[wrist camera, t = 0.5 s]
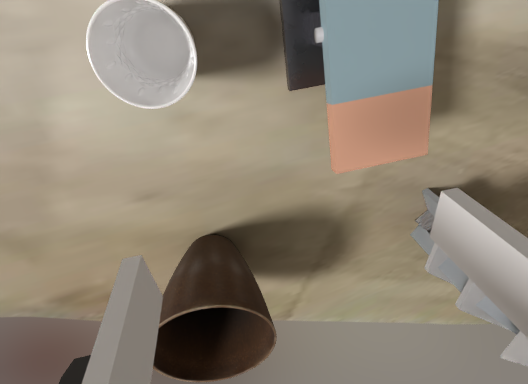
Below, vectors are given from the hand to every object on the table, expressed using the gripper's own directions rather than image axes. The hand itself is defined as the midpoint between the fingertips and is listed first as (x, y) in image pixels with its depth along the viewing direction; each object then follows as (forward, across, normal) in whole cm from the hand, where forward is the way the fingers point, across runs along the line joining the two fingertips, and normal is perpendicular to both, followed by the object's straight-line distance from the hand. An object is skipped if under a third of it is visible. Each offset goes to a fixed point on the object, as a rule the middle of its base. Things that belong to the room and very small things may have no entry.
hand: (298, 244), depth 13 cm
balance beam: (+19, +13, +6) cm, 24 cm away
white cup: (+26, -7, +6) cm, 28 cm away
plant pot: (+26, -9, -24) cm, 36 cm away
